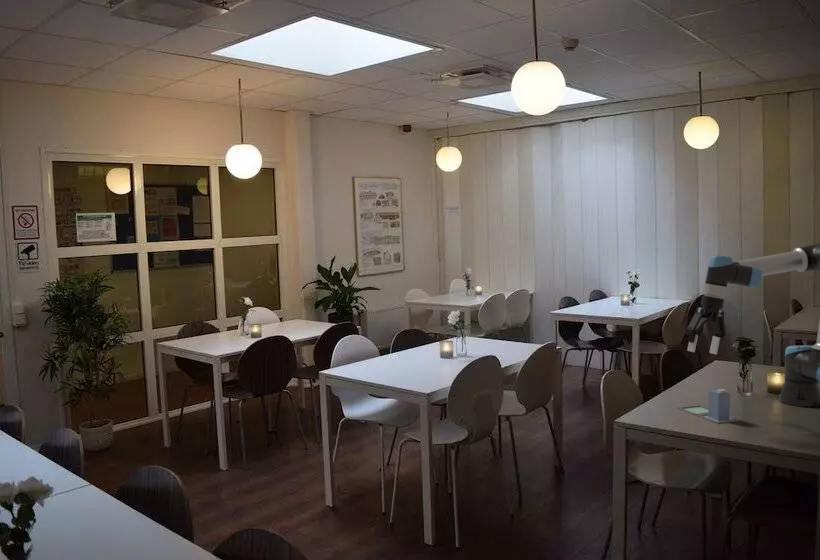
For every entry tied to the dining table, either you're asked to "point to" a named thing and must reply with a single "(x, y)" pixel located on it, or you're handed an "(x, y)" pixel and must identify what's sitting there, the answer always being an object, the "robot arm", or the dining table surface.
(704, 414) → the dock
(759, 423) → the dining table surface
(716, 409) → the blue rectangular block
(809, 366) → the robot arm
